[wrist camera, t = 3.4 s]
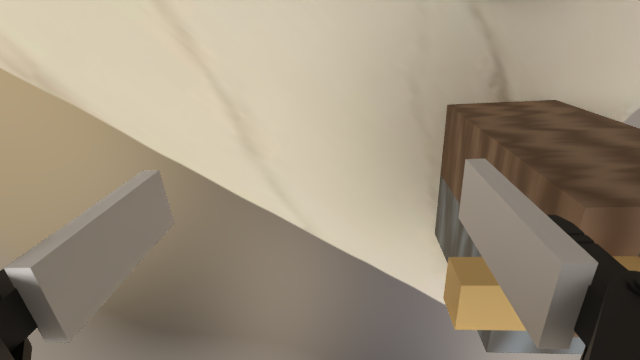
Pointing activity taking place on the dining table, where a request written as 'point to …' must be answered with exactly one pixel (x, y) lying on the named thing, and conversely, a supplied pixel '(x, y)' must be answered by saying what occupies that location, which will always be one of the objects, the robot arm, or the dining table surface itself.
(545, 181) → the stand
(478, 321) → the block
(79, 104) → the dining table surface
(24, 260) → the robot arm
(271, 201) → the dining table surface
